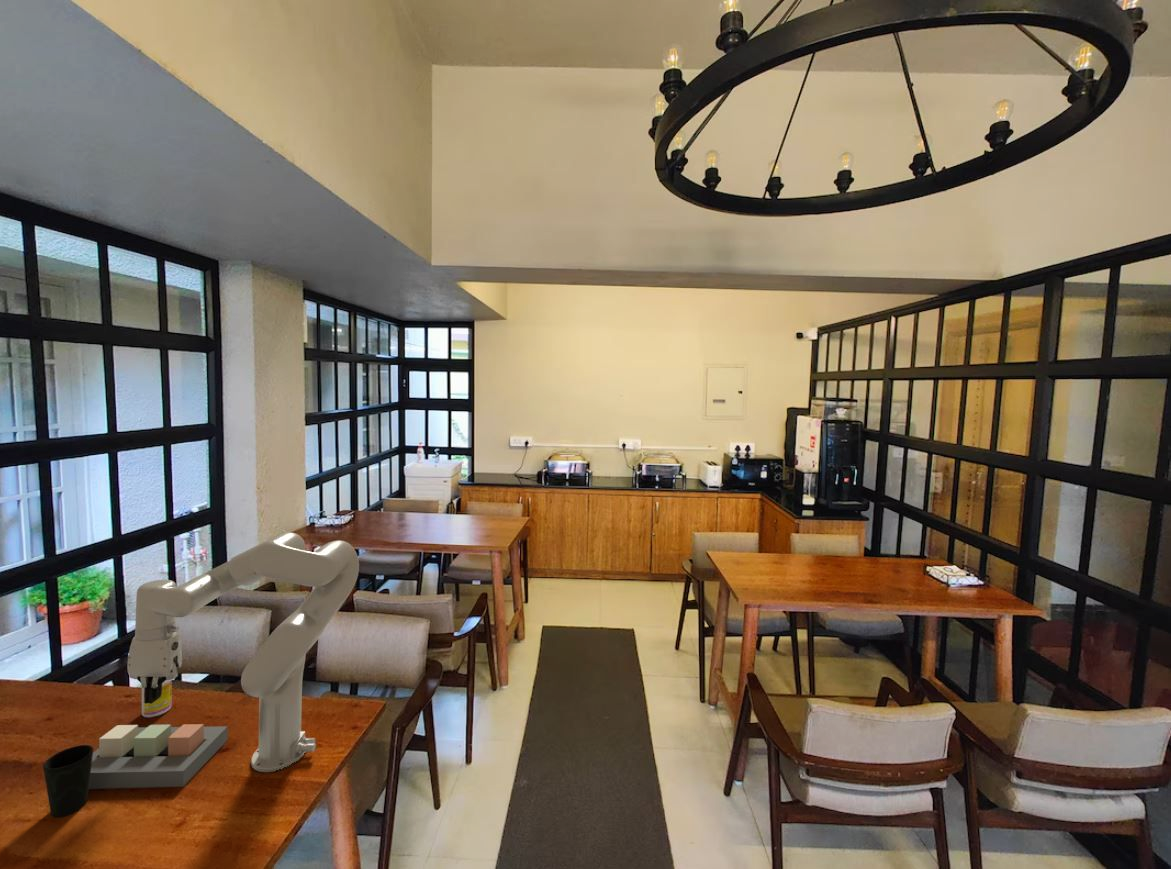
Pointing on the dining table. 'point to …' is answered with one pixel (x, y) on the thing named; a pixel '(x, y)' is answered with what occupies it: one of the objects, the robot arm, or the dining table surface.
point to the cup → (68, 779)
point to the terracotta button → (186, 740)
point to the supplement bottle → (158, 701)
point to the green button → (152, 740)
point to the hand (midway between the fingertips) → (152, 700)
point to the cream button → (118, 741)
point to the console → (155, 765)
